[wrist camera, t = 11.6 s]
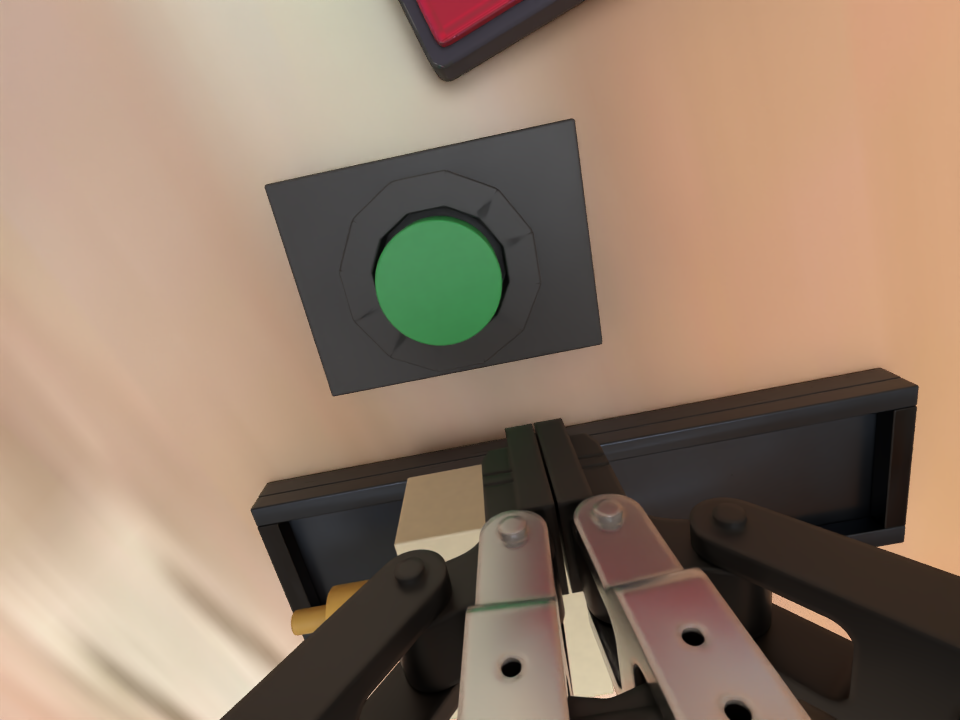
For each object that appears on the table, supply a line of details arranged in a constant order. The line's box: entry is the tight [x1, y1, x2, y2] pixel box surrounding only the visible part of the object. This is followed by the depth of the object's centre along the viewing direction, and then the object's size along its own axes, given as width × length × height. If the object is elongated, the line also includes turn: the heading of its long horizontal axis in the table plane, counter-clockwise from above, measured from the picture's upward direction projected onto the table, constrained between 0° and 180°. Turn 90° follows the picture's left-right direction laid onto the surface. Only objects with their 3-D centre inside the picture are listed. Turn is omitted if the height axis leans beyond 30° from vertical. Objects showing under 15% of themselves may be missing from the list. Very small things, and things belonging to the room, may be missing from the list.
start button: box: [375, 216, 502, 346], centre depth 19 cm, size 4×4×2 cm
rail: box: [251, 368, 919, 640], centre depth 25 cm, size 30×8×2 cm, turn 101°
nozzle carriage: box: [291, 465, 614, 720], centre depth 23 cm, size 13×9×6 cm
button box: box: [265, 119, 602, 396], centre depth 21 cm, size 12×9×3 cm
